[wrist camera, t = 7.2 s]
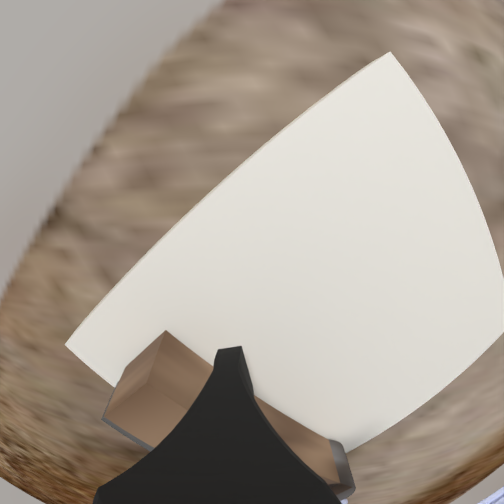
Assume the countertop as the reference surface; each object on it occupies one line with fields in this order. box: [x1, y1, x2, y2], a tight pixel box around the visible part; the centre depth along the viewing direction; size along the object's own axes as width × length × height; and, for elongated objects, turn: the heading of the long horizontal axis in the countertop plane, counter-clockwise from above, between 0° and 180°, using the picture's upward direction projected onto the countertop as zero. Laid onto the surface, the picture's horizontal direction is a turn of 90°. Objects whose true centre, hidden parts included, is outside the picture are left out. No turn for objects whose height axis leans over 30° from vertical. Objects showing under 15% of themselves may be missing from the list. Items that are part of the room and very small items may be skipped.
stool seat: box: [65, 52, 504, 453], centre depth 12 cm, size 18×16×4 cm
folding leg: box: [104, 330, 356, 501], centre depth 12 cm, size 13×3×3 cm, turn 44°
